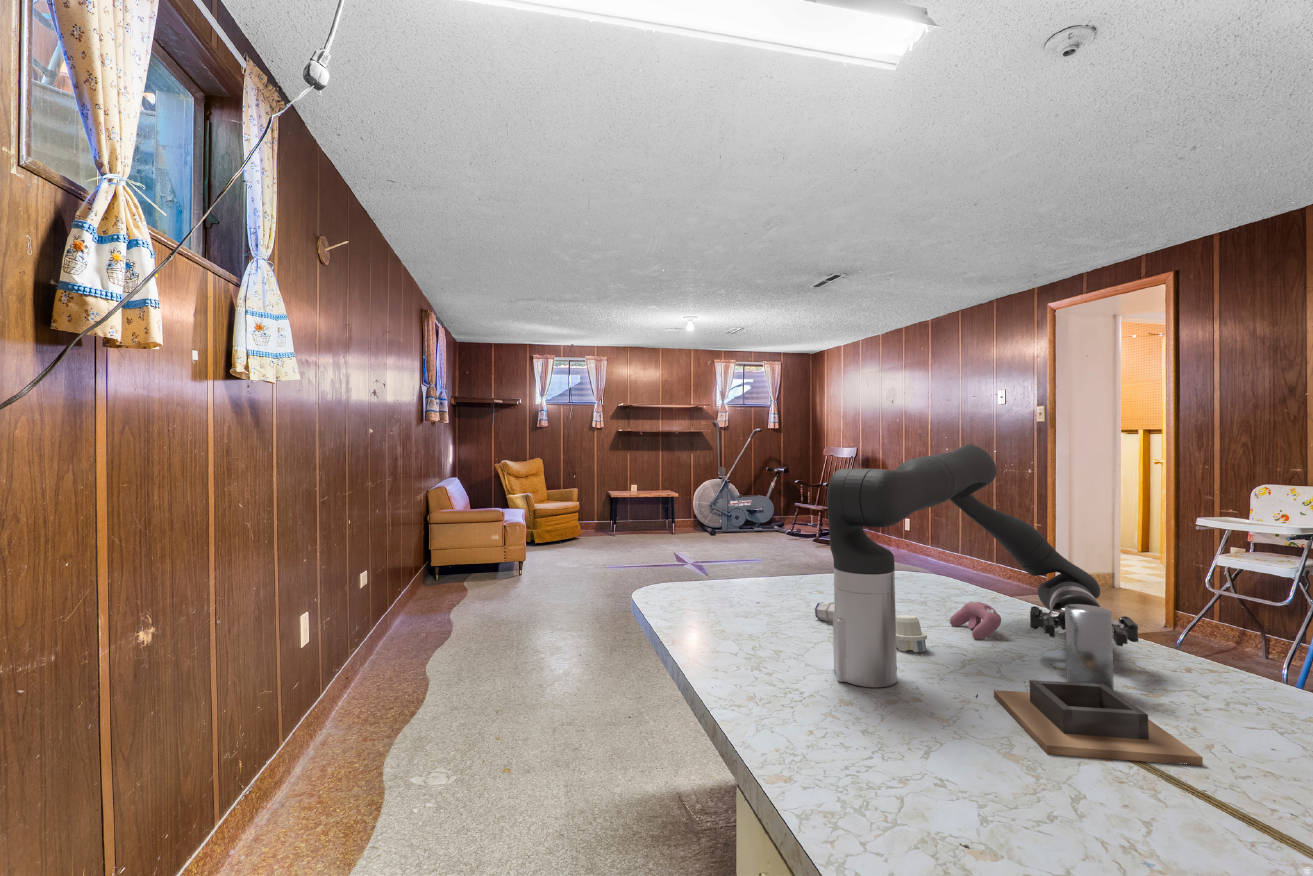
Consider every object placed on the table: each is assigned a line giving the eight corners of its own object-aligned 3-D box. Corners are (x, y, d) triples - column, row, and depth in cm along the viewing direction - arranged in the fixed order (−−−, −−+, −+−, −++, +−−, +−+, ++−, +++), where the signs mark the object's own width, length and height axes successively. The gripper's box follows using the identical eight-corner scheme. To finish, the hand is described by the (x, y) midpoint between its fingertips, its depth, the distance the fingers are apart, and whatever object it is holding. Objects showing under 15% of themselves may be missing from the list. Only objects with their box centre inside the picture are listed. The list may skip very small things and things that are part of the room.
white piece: (829, 599, 126) (930, 610, 104) (832, 631, 125) (935, 649, 103) (811, 602, 123) (910, 614, 102) (814, 635, 122) (915, 654, 101)
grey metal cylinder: (1079, 696, 84) (1076, 613, 84) (1059, 681, 89) (1057, 603, 90) (1122, 699, 83) (1120, 615, 83) (1100, 683, 88) (1098, 604, 89)
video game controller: (994, 648, 109) (1010, 615, 109) (972, 638, 109) (988, 604, 109) (966, 632, 119) (980, 601, 119) (946, 622, 119) (960, 592, 119)
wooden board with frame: (1046, 753, 68) (1045, 719, 68) (993, 697, 84) (993, 669, 84) (1202, 765, 65) (1201, 730, 65) (1117, 704, 81) (1116, 675, 81)
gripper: (1028, 585, 108) (1030, 605, 94) (1125, 594, 100) (1143, 617, 86) (1029, 625, 107) (1031, 651, 94) (1126, 638, 100) (1145, 668, 86)
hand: (1085, 635), depth 90 cm, fingers open, 8 cm apart
